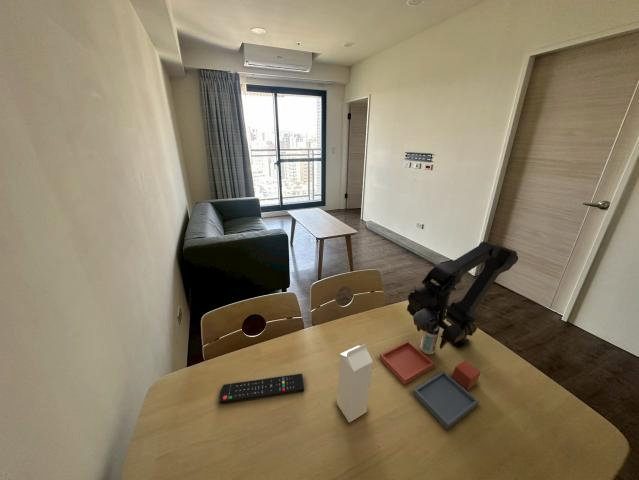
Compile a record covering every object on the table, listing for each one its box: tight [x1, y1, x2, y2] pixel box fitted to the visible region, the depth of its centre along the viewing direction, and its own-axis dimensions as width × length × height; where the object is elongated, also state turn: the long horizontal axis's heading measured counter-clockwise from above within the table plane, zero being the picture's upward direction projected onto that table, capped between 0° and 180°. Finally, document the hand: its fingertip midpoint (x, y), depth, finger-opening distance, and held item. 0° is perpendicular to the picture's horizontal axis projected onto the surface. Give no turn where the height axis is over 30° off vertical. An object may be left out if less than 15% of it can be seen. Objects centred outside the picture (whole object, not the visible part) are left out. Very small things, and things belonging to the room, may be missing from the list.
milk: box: [336, 343, 374, 423], centre depth 66 cm, size 6×6×22 cm
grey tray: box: [412, 370, 479, 431], centre depth 72 cm, size 13×11×2 cm
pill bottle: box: [419, 326, 441, 355], centre depth 87 cm, size 5×5×12 cm
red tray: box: [379, 340, 435, 386], centre depth 84 cm, size 13×11×2 cm
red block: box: [451, 360, 482, 391], centre depth 77 cm, size 5×5×5 cm
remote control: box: [219, 373, 305, 404], centre depth 74 cm, size 5×24×1 cm, turn 100°
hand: (429, 339), depth 88 cm, fingers open, 9 cm apart
